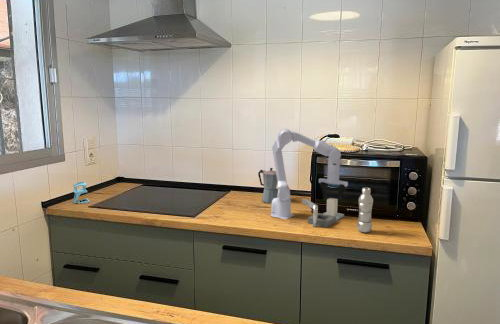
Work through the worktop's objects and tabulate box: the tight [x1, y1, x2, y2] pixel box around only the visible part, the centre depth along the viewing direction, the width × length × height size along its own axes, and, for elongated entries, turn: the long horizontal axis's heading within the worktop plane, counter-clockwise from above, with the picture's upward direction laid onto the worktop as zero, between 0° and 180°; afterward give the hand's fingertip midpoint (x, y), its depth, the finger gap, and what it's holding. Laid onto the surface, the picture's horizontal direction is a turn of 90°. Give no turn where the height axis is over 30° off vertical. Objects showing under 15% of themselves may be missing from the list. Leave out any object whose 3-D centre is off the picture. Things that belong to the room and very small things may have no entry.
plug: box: [326, 197, 339, 216], centre depth 190 cm, size 4×4×8 cm
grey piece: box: [301, 198, 319, 228], centre depth 181 cm, size 13×2×10 cm, turn 19°
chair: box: [72, 181, 91, 204], centre depth 218 cm, size 8×8×12 cm
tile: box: [322, 211, 345, 222], centre depth 190 cm, size 9×9×2 cm
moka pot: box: [257, 167, 278, 204], centre depth 219 cm, size 10×15×20 cm, turn 58°
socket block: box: [307, 212, 337, 228], centre depth 182 cm, size 10×10×3 cm
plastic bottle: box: [356, 187, 374, 233], centre depth 169 cm, size 6×7×20 cm
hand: (332, 198), depth 189 cm, fingers open, 7 cm apart
